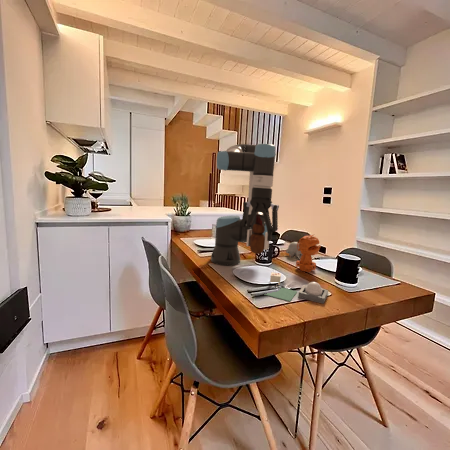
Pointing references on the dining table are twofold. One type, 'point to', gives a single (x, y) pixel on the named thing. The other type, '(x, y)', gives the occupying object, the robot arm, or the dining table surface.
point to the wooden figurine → (257, 236)
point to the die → (275, 277)
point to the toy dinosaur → (307, 252)
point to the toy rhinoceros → (294, 250)
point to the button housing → (313, 297)
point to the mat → (283, 294)
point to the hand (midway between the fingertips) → (257, 247)
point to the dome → (314, 289)
